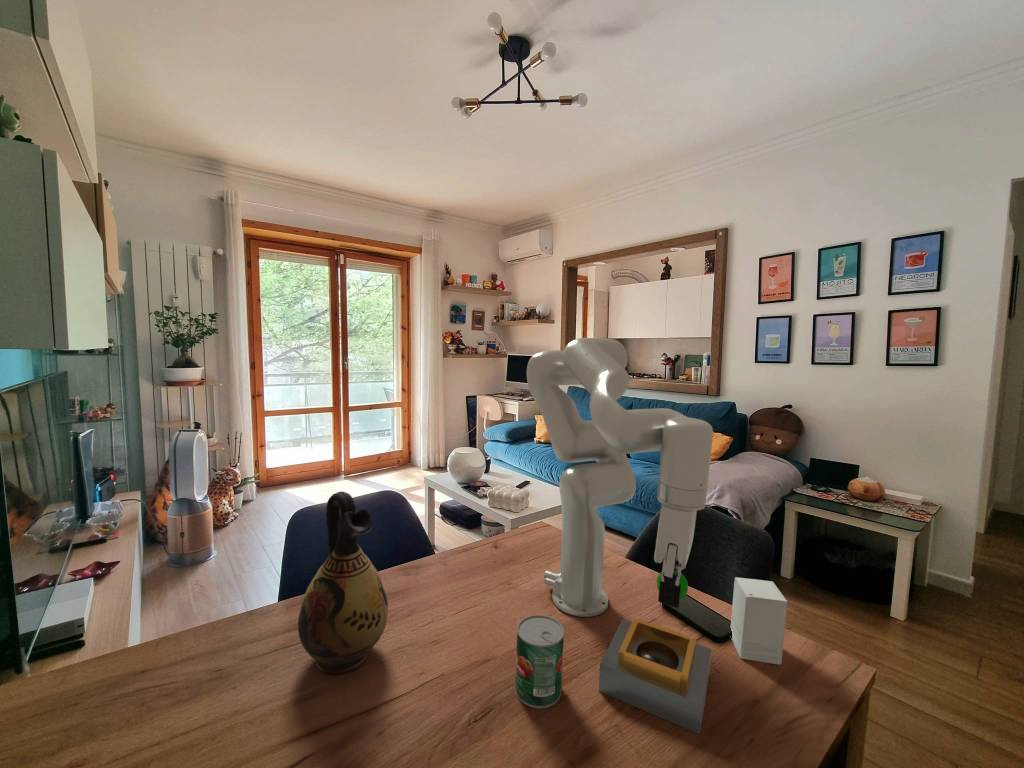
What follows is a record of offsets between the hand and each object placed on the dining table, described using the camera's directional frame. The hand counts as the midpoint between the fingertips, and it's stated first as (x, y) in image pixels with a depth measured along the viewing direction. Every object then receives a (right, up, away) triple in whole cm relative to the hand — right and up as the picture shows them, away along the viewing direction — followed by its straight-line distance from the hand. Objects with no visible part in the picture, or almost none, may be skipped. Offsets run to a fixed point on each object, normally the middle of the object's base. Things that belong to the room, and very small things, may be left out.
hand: (671, 594), depth 75 cm
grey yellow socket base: (-1, -16, +3) cm, 17 cm away
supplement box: (+20, -16, +11) cm, 29 cm away
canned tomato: (-23, -16, 0) cm, 28 cm away
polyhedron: (0, -1, 0) cm, 1 cm away
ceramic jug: (-59, -15, +7) cm, 61 cm away
